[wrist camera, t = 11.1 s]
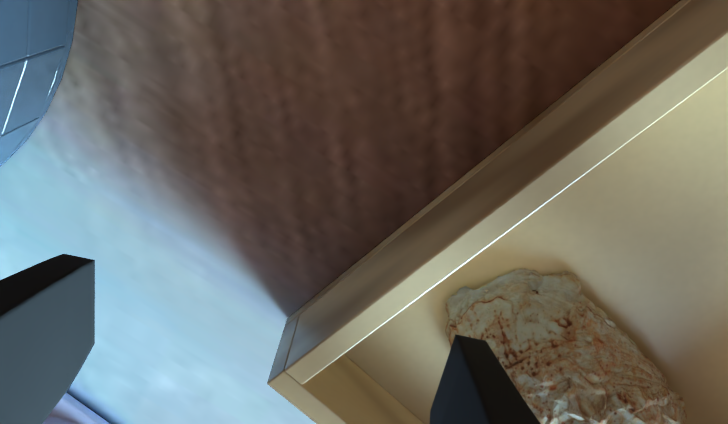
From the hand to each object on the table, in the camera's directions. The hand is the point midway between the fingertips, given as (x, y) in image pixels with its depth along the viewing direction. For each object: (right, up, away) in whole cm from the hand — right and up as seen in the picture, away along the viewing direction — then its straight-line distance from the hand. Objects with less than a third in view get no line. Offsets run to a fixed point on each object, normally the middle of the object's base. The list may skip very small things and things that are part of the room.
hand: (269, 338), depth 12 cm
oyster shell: (+9, -3, +10) cm, 14 cm away
